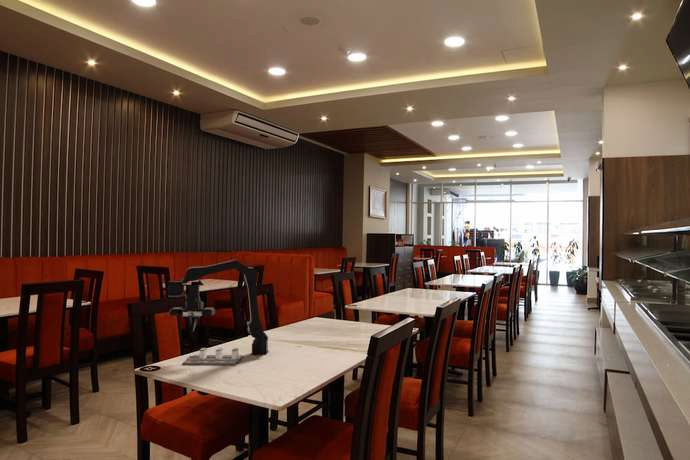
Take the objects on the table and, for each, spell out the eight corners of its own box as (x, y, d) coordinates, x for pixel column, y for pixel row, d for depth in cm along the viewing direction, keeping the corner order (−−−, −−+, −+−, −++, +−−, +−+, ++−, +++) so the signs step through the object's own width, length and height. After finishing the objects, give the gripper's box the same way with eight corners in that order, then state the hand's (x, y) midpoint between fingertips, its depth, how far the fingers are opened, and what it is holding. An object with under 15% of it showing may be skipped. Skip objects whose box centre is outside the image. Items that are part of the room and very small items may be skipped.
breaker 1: (206, 357, 200) (206, 348, 200) (204, 359, 197) (204, 349, 197) (202, 357, 200) (202, 348, 200) (199, 359, 197) (199, 349, 197)
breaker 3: (238, 357, 199) (238, 348, 199) (236, 359, 196) (236, 350, 196) (233, 357, 199) (233, 348, 199) (231, 359, 196) (231, 350, 196)
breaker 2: (222, 357, 200) (222, 348, 200) (220, 359, 196) (220, 350, 196) (217, 357, 200) (217, 348, 200) (215, 359, 196) (215, 350, 197)
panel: (243, 357, 204) (243, 353, 204) (235, 365, 191) (235, 361, 191) (193, 356, 205) (193, 352, 205) (182, 364, 192) (182, 360, 192)
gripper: (219, 293, 210) (219, 327, 210) (179, 293, 211) (178, 327, 211) (211, 296, 199) (211, 332, 199) (168, 296, 200) (168, 332, 199)
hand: (192, 331), depth 202 cm, fingers closed
